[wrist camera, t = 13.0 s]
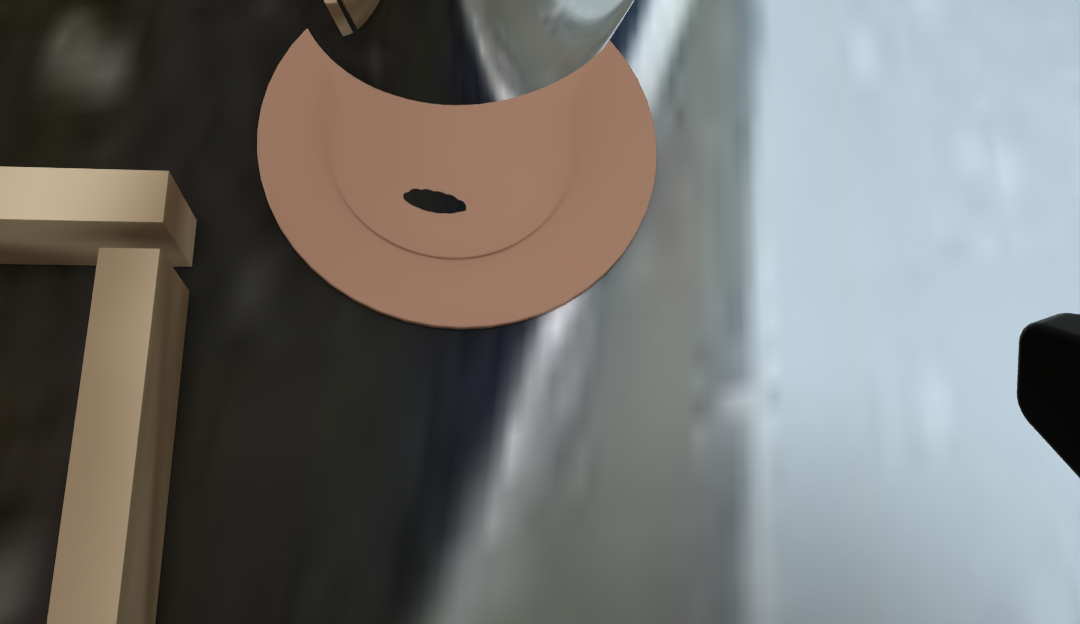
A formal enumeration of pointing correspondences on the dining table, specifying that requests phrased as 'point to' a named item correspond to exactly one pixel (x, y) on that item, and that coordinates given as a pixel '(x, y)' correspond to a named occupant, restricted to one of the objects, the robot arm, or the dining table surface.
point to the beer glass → (456, 112)
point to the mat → (459, 283)
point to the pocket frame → (112, 372)
